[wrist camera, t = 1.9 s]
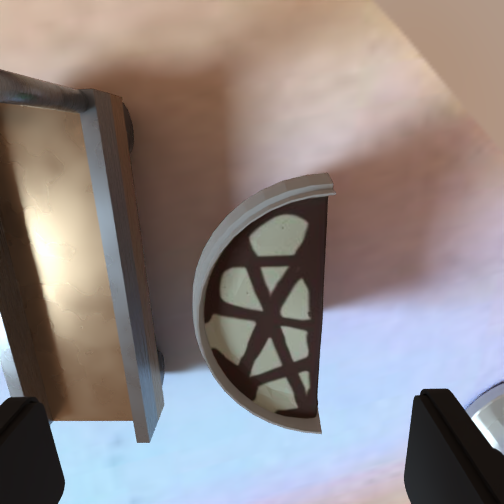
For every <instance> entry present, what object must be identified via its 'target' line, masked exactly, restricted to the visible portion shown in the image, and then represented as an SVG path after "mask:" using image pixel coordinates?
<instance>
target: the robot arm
mask: <svg viewBox="0 0 504 504" xmlns="http://www.w3.org/2000/svg"><path fill="white" fill-rule="evenodd" d="M404 483H405V488H406V492H407V495H408V497H409V499H410V502H411V504H504V383H503V384H501V385H499V386H496V387H494V388H492V389H491V390H489V391H488V392H486V393H485V394H483V395H482V396H480V397H479V398H478V399H476V400H475V401H474V402H473V403H472V404H471V405H470V406H469V407H468V408H467V409H466V410H464V408H463V407H462V406H461V404H460V403H459V402H458V400H457V399H456V398H455V396H454V395H453V393H452V392H451V391H450V390H448V389H423V390H422V391H421V393H420V395H416V396H415V397H414V400H413V408H412V416H411V424H410V432H409V440H408V448H407V456H406V464H405V472H404ZM64 487H65V479H64V476H63V472H62V468H61V465H60V461H59V458H58V454H57V450H56V447H55V443H54V439H53V436H52V432H51V429H50V425H49V421H48V418H47V414H46V411H45V407H44V405H43V404H42V403H39V401H38V399H37V398H36V397H10V398H8V399H7V400H5V401H4V402H3V403H2V404H1V405H0V504H58V502H59V501H60V499H61V497H62V494H63V491H64Z"/></svg>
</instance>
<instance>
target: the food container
mask: <svg viewBox="0 0 504 504" xmlns="http://www.w3.org/2000/svg"><path fill="white" fill-rule="evenodd" d="M328 195H336V192H335V191H334V190H333V182H332V180H331V178H330V176H329V174H328V173H322V174H312V175H304V176H300V177H296V178H292V179H288V180H284V181H282V182H279V183H277V184H275V185H272V186H270V187H268V188H265V189H263V190H261V191H259V192H258V193H256V194H255V195H253V196H251V197H250V198H248V199H247V200H245V201H243V202H242V203H241V204H240V205H239V206H238V207H236V208H235V209H234V210H233V211H232V212H231V213H230V214H228V215H227V216H226V217H225V219H224V220H223V221H222V222H221V224H220V225H219V226H218V227H217V228H216V230H215V231H214V232H213V234H212V235H211V237H210V239H209V241H208V242H207V244H206V246H205V247H204V249H203V252H202V254H201V257H200V260H199V262H198V265H197V268H196V272H195V278H194V283H193V322H194V328H195V335H196V339H197V342H198V345H199V348H200V351H201V354H202V356H203V357H204V359H205V362H206V363H207V365H208V367H209V369H210V371H211V373H212V375H213V376H214V378H215V379H216V381H217V382H218V383H219V384H220V386H221V387H222V388H223V390H224V391H225V392H226V393H227V394H228V395H229V396H230V397H231V398H232V399H233V400H234V401H235V402H236V403H238V404H239V405H240V406H242V407H243V408H245V409H246V410H247V411H249V412H250V413H252V414H253V415H255V416H257V417H259V418H261V419H263V420H265V421H267V422H269V423H272V424H275V425H277V426H280V427H283V428H286V429H290V430H295V431H300V432H305V433H316V434H322V431H321V425H320V419H319V413H318V399H317V393H318V375H319V359H320V345H321V333H322V320H323V287H324V267H325V248H326V228H327V205H328Z"/></svg>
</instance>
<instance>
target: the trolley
mask: <svg viewBox="0 0 504 504" xmlns="http://www.w3.org/2000/svg"><path fill="white" fill-rule="evenodd" d="M133 140H134V136H133V126H132V121H131V118H130V115H129V112H128V110H127V108H126V106H125V105H124V103H123V102H122V97H119V96H116V95H112V94H109V93H106V92H102V91H99V90H95V89H79V90H77V89H73V88H69V87H65V86H62V85H58V84H54V83H50V82H46V81H43V80H39V79H35V78H31V77H27V76H24V75H20V74H16V73H12V72H8V71H5V70H1V69H0V362H1V365H2V369H3V372H4V375H5V379H6V382H7V385H8V389H9V392H10V396H11V397H36V398H37V399H38V401H39V403H42V404H43V405H44V407H45V411H46V414H47V418H48V421H49V425H50V424H51V423H52V422H53V421H133V423H134V429H135V434H136V440H137V443H150V441H151V438H152V435H153V433H154V430H155V428H156V425H157V422H158V420H159V417H160V415H161V412H162V410H163V407H164V398H163V391H162V385H163V380H164V359H163V355H162V353H161V352H157V348H156V340H155V333H154V326H153V319H152V312H151V305H150V297H149V290H148V283H147V276H146V269H145V261H144V254H143V247H142V240H141V233H140V226H139V218H138V211H137V204H136V197H135V190H134V182H133V175H132V168H131V161H130V153H131V151H132V148H133Z"/></svg>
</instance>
